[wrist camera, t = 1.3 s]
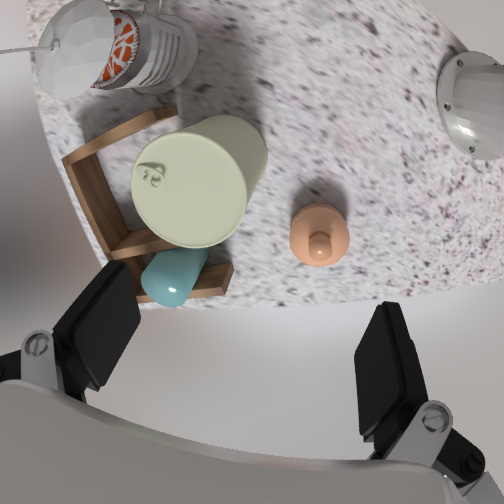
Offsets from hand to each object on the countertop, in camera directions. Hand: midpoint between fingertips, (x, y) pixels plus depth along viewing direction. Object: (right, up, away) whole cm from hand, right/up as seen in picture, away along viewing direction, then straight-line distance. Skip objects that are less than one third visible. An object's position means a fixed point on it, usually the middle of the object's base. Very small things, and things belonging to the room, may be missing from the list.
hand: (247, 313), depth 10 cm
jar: (-8, +3, +26) cm, 28 cm away
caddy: (-12, +8, +24) cm, 28 cm away
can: (-3, +13, +19) cm, 23 cm away
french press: (-10, +24, +13) cm, 29 cm away
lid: (+8, +5, +22) cm, 24 cm away
